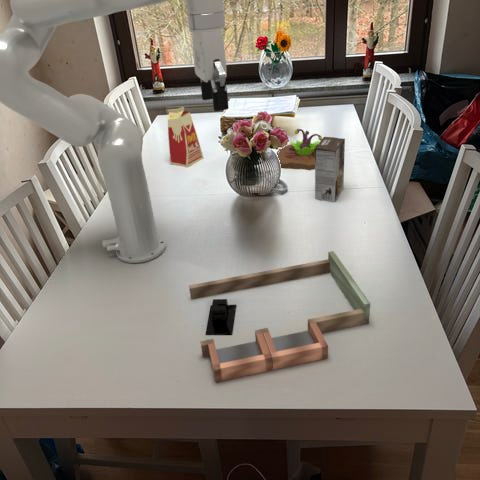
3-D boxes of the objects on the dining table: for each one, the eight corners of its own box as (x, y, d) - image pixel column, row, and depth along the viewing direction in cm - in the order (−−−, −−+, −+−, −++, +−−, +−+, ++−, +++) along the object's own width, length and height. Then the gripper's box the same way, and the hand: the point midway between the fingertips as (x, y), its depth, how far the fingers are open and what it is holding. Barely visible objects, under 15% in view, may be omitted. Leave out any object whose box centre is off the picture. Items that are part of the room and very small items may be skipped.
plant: (277, 149, 180) (276, 119, 174) (331, 148, 178) (332, 117, 172) (274, 172, 163) (273, 139, 158) (334, 170, 161) (335, 137, 155)
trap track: (208, 383, 87) (205, 363, 84) (190, 296, 109) (187, 278, 106) (384, 345, 92) (386, 325, 89) (333, 269, 113) (333, 251, 111)
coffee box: (323, 186, 151) (323, 136, 142) (344, 189, 148) (345, 137, 140) (314, 199, 144) (314, 147, 135) (335, 202, 141) (337, 149, 133)
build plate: (235, 343, 96) (233, 325, 94) (199, 343, 97) (195, 325, 94) (240, 302, 107) (238, 285, 104) (207, 302, 107) (204, 286, 105)
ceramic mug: (250, 196, 149) (248, 172, 145) (256, 184, 156) (255, 161, 152) (284, 198, 146) (284, 174, 142) (289, 186, 153) (289, 163, 149)
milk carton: (203, 158, 178) (196, 103, 167) (188, 167, 171) (179, 111, 161) (183, 154, 182) (175, 101, 172) (167, 164, 176) (158, 108, 165)
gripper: (179, 19, 107) (189, 97, 116) (199, 29, 93) (209, 117, 102) (212, 15, 109) (220, 93, 118) (236, 24, 95) (243, 111, 104)
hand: (215, 104), depth 110 cm, fingers open, 9 cm apart
